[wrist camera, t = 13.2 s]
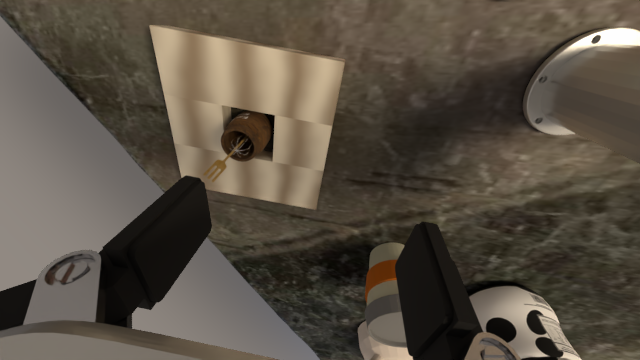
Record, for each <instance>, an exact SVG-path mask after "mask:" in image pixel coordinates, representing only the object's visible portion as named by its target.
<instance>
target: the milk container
mask: <svg viewBox="0 0 640 360" xmlns="http://www.w3.org/2000/svg"><path fill="white" fill-rule="evenodd" d="M469 298H470V301H471V303H472V306H473V308H474V311H475V313H476V315H477V318H478V320H479V323H480V325H481V327H482V330H483V332H487V333H491V334H494V335H496V336H498V337H500V338H501V339H503V340H504V341H506V342H507V343H508V344H509V345H510V346H511V347H512V348H513V349H514V350H515V352H516V353H517V354H518V355H519V357H520V358H521V360H581V358H580V357H579V355H578V354H577V353H576V351H575V350H574V349H573V347H572V346H571V345H570V343H569V342H568V340H567V339H566V337H565V335H564V333H563V331H562V329H561V326H560V324H559V321H558V319H557V317H556V315H555V313H554V311H553V310H552V309H551V307H550V306H549V305H548V304H547V302H546V301H545V300H544V299H543V298H542V297H541V296H540V295H538V294H537V293H536V292H534V291H532V290H531V289H528V288H525V287H522V286H517V285H505V284H504V285H495V286H489V287H486V288H482V289H479V290H477V291H476V292H474V293H472V294H470V295H469Z"/></svg>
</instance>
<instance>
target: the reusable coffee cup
mask: <svg viewBox="0 0 640 360" xmlns="http://www.w3.org/2000/svg"><path fill="white" fill-rule="evenodd" d="M404 246H405V245H402V244H399V243H384V244H381V245H379V246H377V247H375V248H374V249H373V250H372V251H371V253H370V260H369V271H368V273H367V277H366V292H365V299H366V302H367V307H366V309H365V317H366V323H367V329H368V333H369V335H370V336H371V337H372V338H373V339H374V340H376V341H377V342H379V343H382V344H384V345H388V346H392V347H400V348H407V343H406V337H405V331H404V324H403V318H402V311H401V305H400V299H399V292H398V286H397V280H396V273H395V264H396V261H397V260H398V258H399V256H400V254H401V252H402V250H403V248H404Z"/></svg>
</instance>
